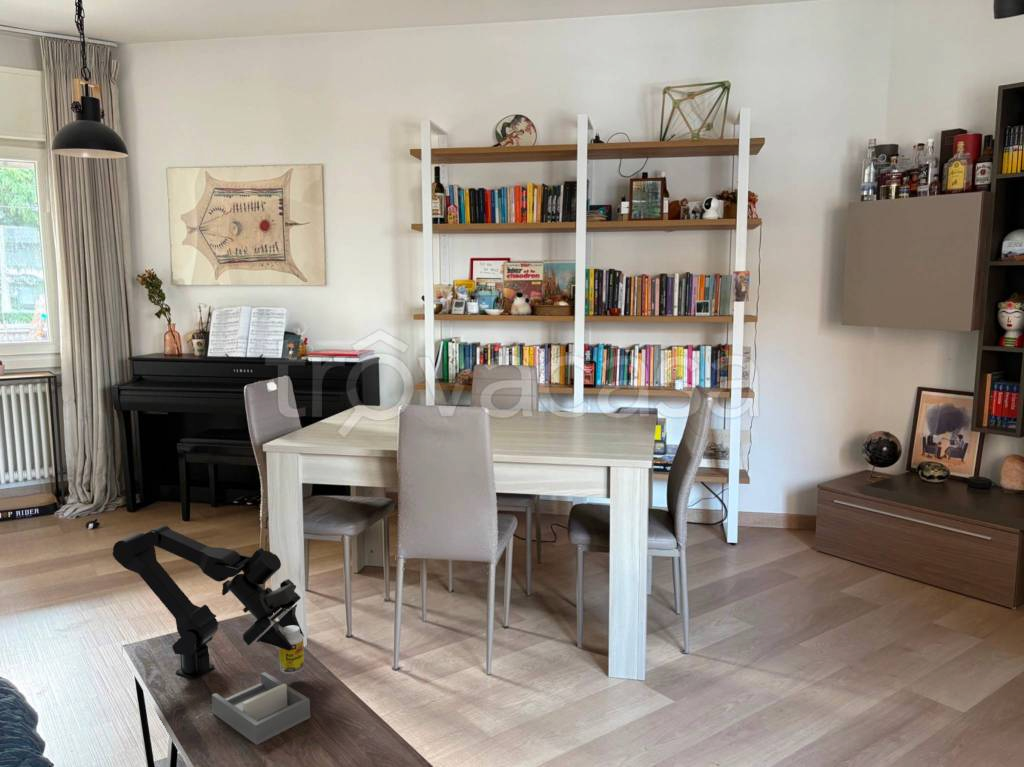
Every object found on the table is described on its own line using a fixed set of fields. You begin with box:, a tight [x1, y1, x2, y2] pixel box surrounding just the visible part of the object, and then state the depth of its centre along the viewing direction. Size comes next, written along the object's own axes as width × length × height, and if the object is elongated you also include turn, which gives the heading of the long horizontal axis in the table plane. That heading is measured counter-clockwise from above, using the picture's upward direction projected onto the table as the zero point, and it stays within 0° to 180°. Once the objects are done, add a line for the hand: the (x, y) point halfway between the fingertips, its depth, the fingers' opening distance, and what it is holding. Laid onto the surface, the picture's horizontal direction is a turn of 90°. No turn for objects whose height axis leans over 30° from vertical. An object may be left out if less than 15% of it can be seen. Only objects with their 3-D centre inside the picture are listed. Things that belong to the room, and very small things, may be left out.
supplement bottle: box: [278, 625, 305, 675], centre depth 178 cm, size 6×6×10 cm
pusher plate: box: [243, 683, 288, 721], centre depth 163 cm, size 1×10×5 cm, turn 140°
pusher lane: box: [211, 671, 311, 746], centre depth 164 cm, size 18×13×4 cm
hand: (296, 643), depth 177 cm, fingers closed on supplement bottle, 5 cm apart
